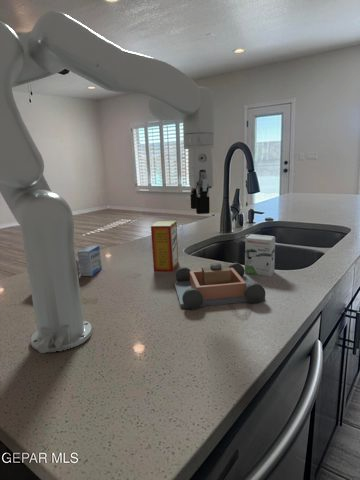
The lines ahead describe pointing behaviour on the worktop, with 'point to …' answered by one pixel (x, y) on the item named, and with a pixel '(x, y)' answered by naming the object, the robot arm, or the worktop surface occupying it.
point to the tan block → (216, 274)
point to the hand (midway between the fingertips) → (199, 211)
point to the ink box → (259, 254)
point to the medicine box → (89, 260)
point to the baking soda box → (164, 246)
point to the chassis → (216, 289)
